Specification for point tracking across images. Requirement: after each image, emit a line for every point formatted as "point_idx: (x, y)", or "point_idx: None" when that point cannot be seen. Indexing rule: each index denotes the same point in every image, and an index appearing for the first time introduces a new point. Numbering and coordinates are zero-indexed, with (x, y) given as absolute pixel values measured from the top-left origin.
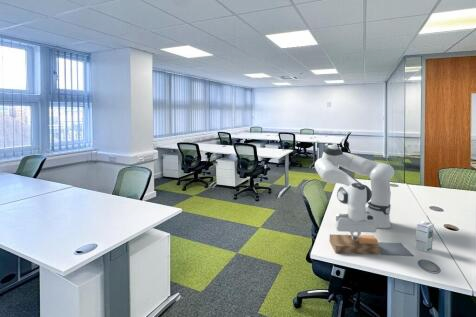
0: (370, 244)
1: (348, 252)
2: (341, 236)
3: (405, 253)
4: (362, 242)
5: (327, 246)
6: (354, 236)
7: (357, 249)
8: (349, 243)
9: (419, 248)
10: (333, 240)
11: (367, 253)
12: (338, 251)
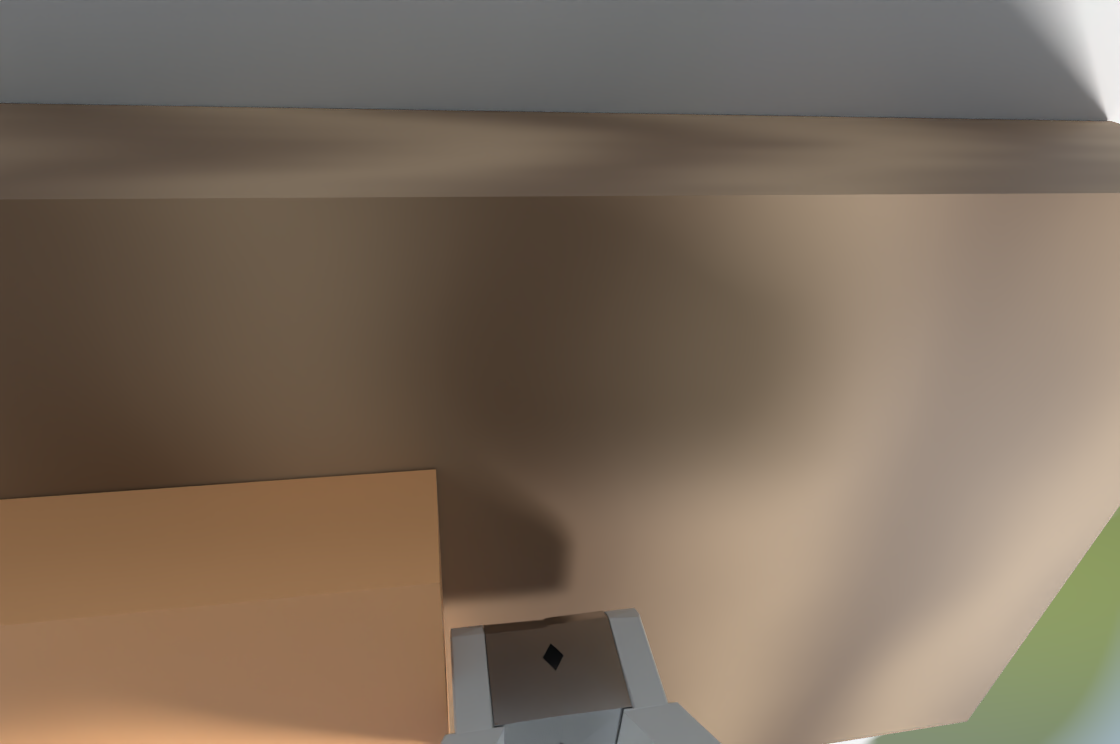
0: (1, 441)
1: (816, 123)
2: (777, 703)
3: None
4: (326, 501)
5: None
6: (603, 714)
7: (585, 153)
8: (791, 405)
9: None
10: (1109, 504)
11: (217, 116)
12: (1086, 131)
